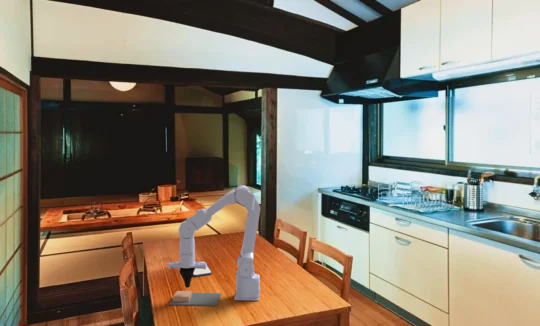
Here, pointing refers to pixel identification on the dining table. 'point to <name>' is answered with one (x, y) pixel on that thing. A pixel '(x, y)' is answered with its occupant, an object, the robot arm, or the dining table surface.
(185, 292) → the tile
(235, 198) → the robot arm
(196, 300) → the mat
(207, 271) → the phone case
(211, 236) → the dining table surface
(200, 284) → the dining table surface
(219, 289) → the dining table surface
